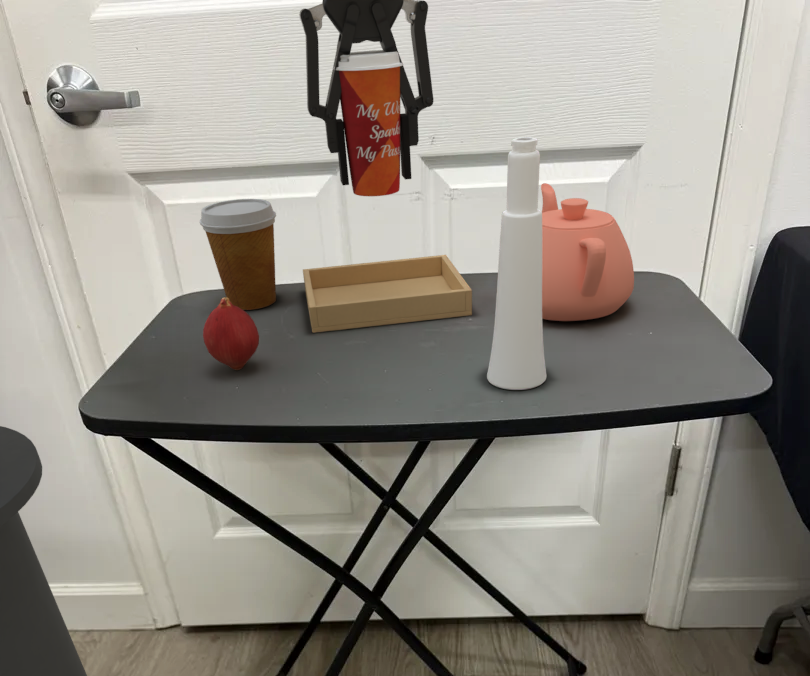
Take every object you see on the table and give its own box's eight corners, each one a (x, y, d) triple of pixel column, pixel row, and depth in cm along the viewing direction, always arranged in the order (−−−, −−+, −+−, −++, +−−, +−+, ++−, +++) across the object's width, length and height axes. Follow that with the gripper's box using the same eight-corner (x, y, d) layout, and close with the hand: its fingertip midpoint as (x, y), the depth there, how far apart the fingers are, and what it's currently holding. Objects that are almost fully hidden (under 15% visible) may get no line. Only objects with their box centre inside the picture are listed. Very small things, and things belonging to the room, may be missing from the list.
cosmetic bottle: (557, 383, 77) (573, 139, 65) (503, 395, 76) (509, 148, 63) (528, 361, 82) (537, 130, 69) (476, 373, 80) (477, 138, 68)
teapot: (487, 283, 104) (487, 184, 97) (595, 272, 105) (604, 174, 98) (528, 343, 86) (532, 228, 79) (658, 329, 87) (674, 215, 80)
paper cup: (370, 201, 87) (360, 56, 79) (331, 192, 92) (318, 54, 84) (422, 189, 91) (418, 49, 83) (382, 181, 96) (374, 48, 88)
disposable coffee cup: (264, 285, 108) (249, 194, 101) (302, 300, 102) (289, 204, 95) (203, 303, 104) (183, 208, 97) (239, 320, 98) (221, 220, 90)
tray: (312, 332, 93) (309, 307, 91) (305, 292, 105) (302, 269, 103) (472, 315, 94) (472, 289, 93) (446, 277, 107) (446, 254, 105)
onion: (201, 369, 85) (185, 297, 81) (246, 354, 88) (233, 284, 84) (227, 384, 82) (212, 310, 77) (273, 368, 84) (261, 295, 80)
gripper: (445, -71, 82) (450, 166, 95) (259, -60, 80) (291, 181, 93) (461, -76, 76) (463, 178, 89) (260, -64, 74) (294, 194, 87)
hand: (375, 179), depth 91 cm, fingers closed on paper cup, 7 cm apart
